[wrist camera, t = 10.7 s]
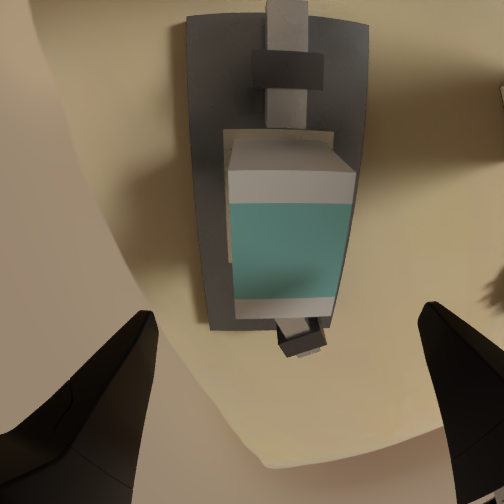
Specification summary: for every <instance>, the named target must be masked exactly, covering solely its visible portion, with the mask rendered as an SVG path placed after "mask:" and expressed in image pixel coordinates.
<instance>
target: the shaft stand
mask: <svg viewBox="0 0 504 504" xmlns="http://www.w3.org/2000/svg"><path fill="white" fill-rule="evenodd" d="M186 30H187V82H188V107H189V127H190V143H191V158H192V172H193V184H194V196H195V207H196V217H197V228H198V237H199V246H200V255H201V264H202V272H203V281H204V289H205V296H206V304H207V311H208V318H209V325H210V330H220V331H252V330H277V338H278V345H279V346H280V348H281V349H282V351H283V352H284V354H285V355H286V357H291V356H294V355H297V357H298V358H300V357H303V356H307V355H310V354H313V353H316V352H319V351H321V350H320V347H322V346H325V345H327V342H326V338H325V334H324V330H323V328H330V324H331V320H332V316H333V312H334V308H335V303H336V299H337V295H338V290H339V286H340V281H341V277H342V272H343V267H344V262H345V257H346V252H347V247H348V242H349V236H350V230H351V225H352V219H353V213H354V207H355V200H356V193H357V186H358V179H359V172H360V164H361V155H362V146H363V137H364V126H365V114H366V101H367V84H368V59H369V25H366V24H361V23H356V22H350V21H345V20H339V19H332V18H325V17H317V16H308V1H301V0H267V2H266V6H265V13H221V14H206V15H195V16H187V18H186ZM235 139H297V140H321V141H323V142H324V143H325V144H326V145H327V146H328V147H329V148H330V149H331V150H333V151H334V152H335V153H336V154H337V155H338V156H339V157H340V158H341V159H342V160H343V161H344V162H345V163H347V164H348V165H349V166H350V167H351V168H352V169H353V170H354V171H355V172H356V178H355V186H354V193H353V201H352V208H351V214H350V221H349V227H348V233H347V239H346V245H345V250H344V256H343V261H342V266H341V271H340V276H339V281H338V286H337V291H336V296H335V300H334V305H333V309H332V313H331V316H321V317H300V318H270V319H236V317H235V301H234V284H233V267H232V248H231V228H230V207H229V184H228V168H229V163H230V159H231V154H232V149H233V145H234V140H235Z"/></svg>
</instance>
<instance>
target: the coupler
mask: <svg viewBox="0 0 504 504" xmlns="http://www.w3.org/2000/svg"><path fill="white" fill-rule="evenodd" d="M355 178H356V172H355V171H354V170H353V169H352V168H351V167H350V166H349V165H348V164H347V163H345V162H344V161H343V160H342V159H341V158H340V157H339V156H338V155H337V154H336V153H335V152H334V151H333V150H331V149H330V148H329V147H328V146H327V145H326V144H325V143H324V142H323V141H321V140H297V139H235V140H234V145H233V149H232V154H231V159H230V163H229V168H228V184H229V207H230V228H231V248H232V267H233V284H234V301H235V317H236V319H270V318H300V317H321V316H331V313H332V309H333V305H334V300H335V296H336V291H337V286H338V281H339V276H340V271H341V266H342V261H343V256H344V250H345V245H346V239H347V233H348V227H349V221H350V214H351V208H352V201H353V193H354V186H355Z"/></svg>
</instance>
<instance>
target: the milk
mask: <svg viewBox="0 0 504 504" xmlns="http://www.w3.org/2000/svg"><path fill="white" fill-rule="evenodd" d="M500 89H501V94H502V99H503V104H504V86H501V87H500Z"/></svg>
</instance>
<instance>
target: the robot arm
mask: <svg viewBox="0 0 504 504" xmlns="http://www.w3.org/2000/svg"><path fill="white" fill-rule="evenodd" d="M418 329H419V333H420V337H421V341H422V346H423V350H424V355H425V359H426V363H427V366H428V370H429V373H430V376H431V379H432V383H433V386H434V390H435V393H436V397H437V401H438V404H439V408H440V412H441V416H442V420H443V424H444V429H445V433H446V437H447V442H448V447H449V452H450V457H451V464H452V470H453V475H454V482H455V490H456V498H457V504H468V503H470V502H473V501H475V500H477V499H479V498H482V497H484V496H486V495H488V494H490V493H492V492H494V495H495V496H494V497H493V498H491V499H490V500H488V501H487V502H485V503H483V504H504V351H503V350H502V349H501V348H499V347H498V346H497V345H495V344H494V343H493V342H492V341H490V340H489V339H488V338H486V337H485V336H484V335H482V334H481V333H480V332H478V331H477V330H476V329H474V328H473V327H472V326H470V325H469V324H467V323H466V322H465V321H463V320H462V319H461V318H459V317H458V316H456V315H455V314H454V313H452V312H451V311H450V310H448V309H447V308H445V307H444V306H442V305H441V304H440V303H438V302H436V301H433V302H427V303H426V304H425V305H424V307H423V309H422V312H421V314H420V316H419V318H418ZM158 336H159V331H158V327H157V323H156V320H155V317H154V314H153V312H152V311H148V310H147V311H146V310H140V311H138V312H137V313H136V314H135V315H134V316H133V317H132V318H131V319H130V320H129V321H128V322H127V323H126V324H125V325H124V326H123V327H122V328H121V329H120V330H118V331H117V332H116V333H115V334H114V335H113V336H112V337H111V338H110V339H109V340H108V341H107V342H106V343H105V344H104V345H103V346H102V347H101V348H100V349H99V350H98V351H97V352H96V353H95V354H94V355H93V356H92V357H91V358H90V359H89V360H88V361H87V362H86V363H85V364H84V365H83V366H82V367H81V368H80V369H79V370H78V371H77V372H76V373H75V374H74V375H73V376H72V377H71V378H70V380H68V381H67V382H66V383H65V384H64V385H63V386H62V387H61V388H60V389H59V390H58V391H57V392H56V393H55V394H54V395H53V396H52V397H51V398H49V399H48V400H47V401H46V402H45V403H44V404H43V405H41V406H40V407H39V408H38V409H37V410H36V411H34V412H33V413H32V414H31V415H30V416H29V417H27V418H26V419H25V420H24V421H23V422H21V423H20V424H19V425H18V426H17V427H15V428H14V429H13V430H11V431H9V432H7V433H4V434H1V435H0V504H131V501H132V493H133V490H132V489H133V486H134V479H135V473H136V466H137V460H138V455H139V448H140V443H141V438H142V432H143V427H144V422H145V416H146V411H147V407H148V402H149V397H150V393H151V388H152V383H153V378H154V371H155V362H156V352H157V344H158Z"/></svg>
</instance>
